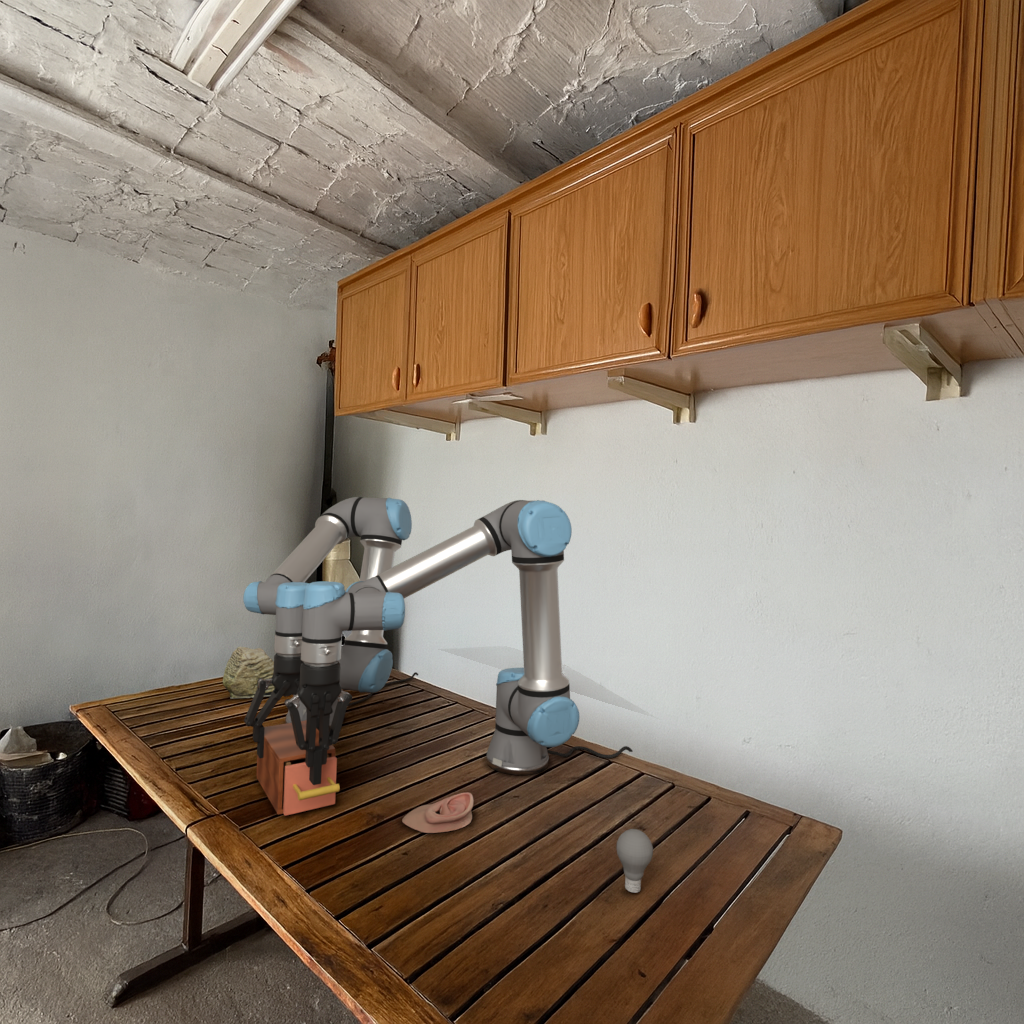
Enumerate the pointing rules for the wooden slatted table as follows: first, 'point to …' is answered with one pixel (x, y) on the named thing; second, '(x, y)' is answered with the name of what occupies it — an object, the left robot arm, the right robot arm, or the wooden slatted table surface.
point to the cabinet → (280, 759)
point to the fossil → (247, 672)
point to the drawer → (308, 786)
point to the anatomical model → (442, 814)
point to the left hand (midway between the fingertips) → (288, 750)
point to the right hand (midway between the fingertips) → (315, 781)
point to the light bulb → (634, 857)
